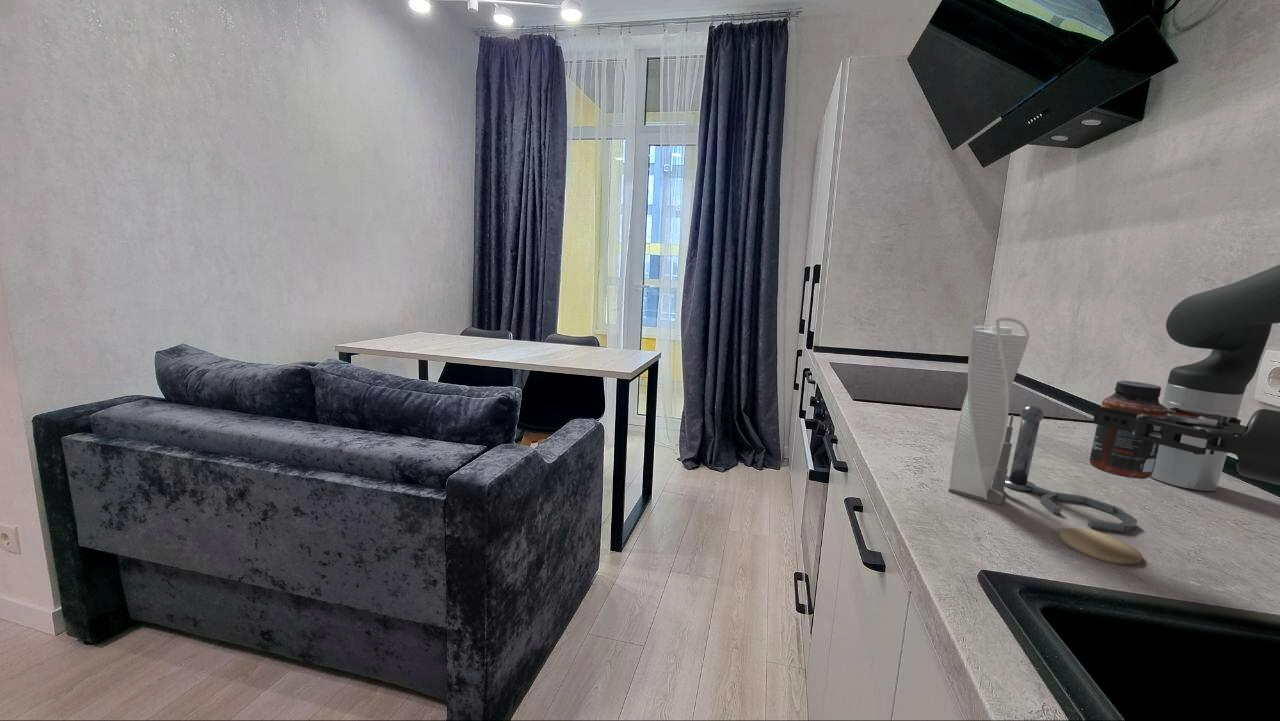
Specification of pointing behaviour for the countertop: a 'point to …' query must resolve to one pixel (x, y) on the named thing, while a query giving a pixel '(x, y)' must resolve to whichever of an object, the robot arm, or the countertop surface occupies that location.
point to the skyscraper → (987, 413)
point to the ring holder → (1019, 482)
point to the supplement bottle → (1128, 433)
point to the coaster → (1100, 546)
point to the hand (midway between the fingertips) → (1106, 412)
